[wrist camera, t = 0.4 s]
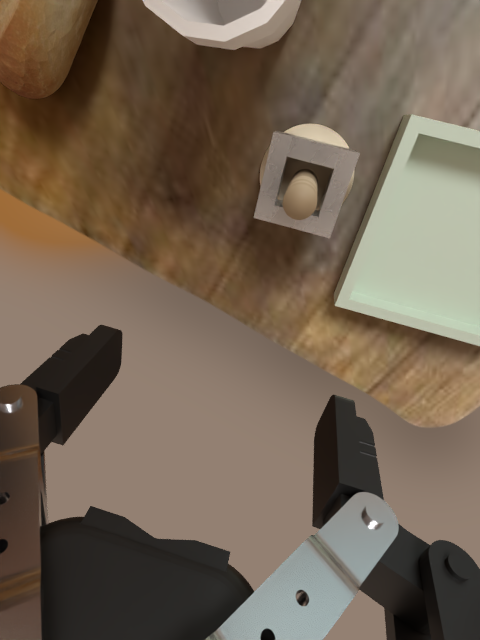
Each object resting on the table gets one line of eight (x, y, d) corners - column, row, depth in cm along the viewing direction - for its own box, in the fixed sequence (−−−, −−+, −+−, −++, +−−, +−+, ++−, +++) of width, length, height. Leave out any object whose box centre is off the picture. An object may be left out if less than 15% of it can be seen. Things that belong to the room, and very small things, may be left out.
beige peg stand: (273, 113, 29) (249, 108, 19) (368, 136, 29) (396, 145, 19) (251, 209, 33) (222, 248, 23) (334, 231, 33) (342, 281, 23)
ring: (277, 130, 26) (273, 131, 24) (356, 150, 26) (359, 153, 24) (258, 210, 29) (253, 217, 27) (328, 229, 29) (329, 238, 27)
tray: (403, 114, 28) (411, 114, 25) (613, 166, 27) (641, 170, 24) (333, 293, 36) (334, 305, 34) (492, 337, 35) (504, 353, 33)
